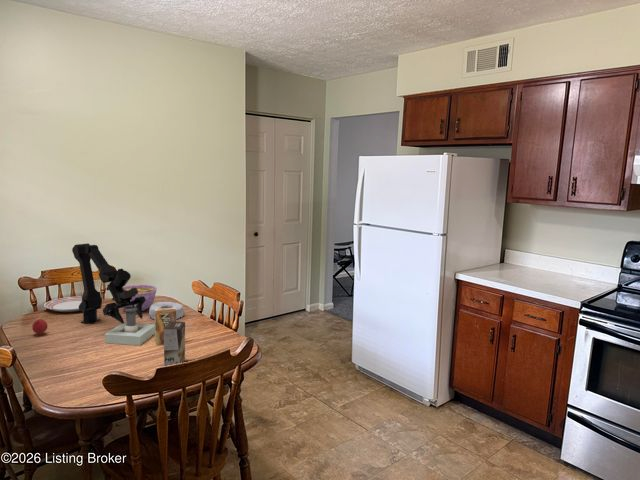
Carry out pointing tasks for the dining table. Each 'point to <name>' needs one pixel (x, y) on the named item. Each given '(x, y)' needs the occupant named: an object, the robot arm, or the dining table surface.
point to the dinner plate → (64, 304)
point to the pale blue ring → (166, 305)
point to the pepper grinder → (131, 320)
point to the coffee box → (174, 343)
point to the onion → (39, 326)
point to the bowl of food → (143, 294)
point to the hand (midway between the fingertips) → (132, 320)
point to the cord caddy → (130, 335)
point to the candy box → (163, 322)
